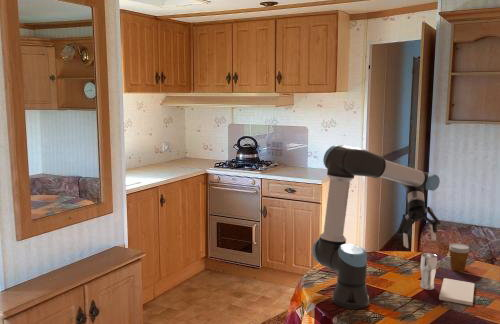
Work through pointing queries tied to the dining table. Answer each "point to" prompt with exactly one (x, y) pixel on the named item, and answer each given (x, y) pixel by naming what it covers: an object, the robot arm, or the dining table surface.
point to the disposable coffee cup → (458, 256)
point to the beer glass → (428, 270)
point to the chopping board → (457, 291)
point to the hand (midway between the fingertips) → (419, 243)
